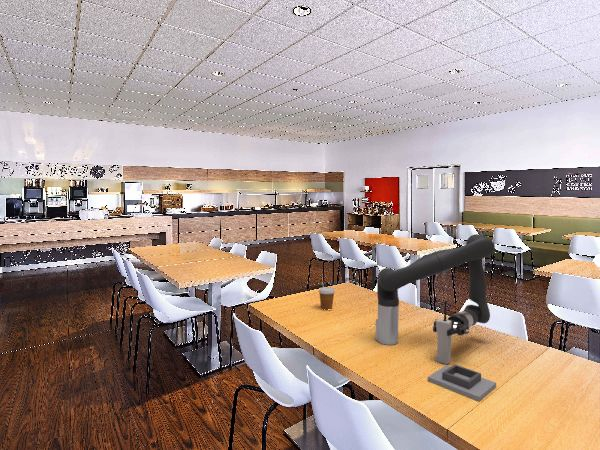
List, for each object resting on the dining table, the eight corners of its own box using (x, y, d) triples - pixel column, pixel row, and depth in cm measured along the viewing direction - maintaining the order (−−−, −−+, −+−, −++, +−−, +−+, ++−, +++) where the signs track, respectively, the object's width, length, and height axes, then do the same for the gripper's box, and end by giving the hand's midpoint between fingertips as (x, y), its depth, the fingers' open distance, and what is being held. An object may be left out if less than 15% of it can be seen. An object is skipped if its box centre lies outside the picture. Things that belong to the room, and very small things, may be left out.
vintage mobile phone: (438, 358, 152) (439, 298, 150) (450, 361, 149) (452, 300, 147) (434, 361, 149) (436, 300, 147) (447, 364, 146) (448, 302, 144)
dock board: (427, 380, 133) (427, 370, 133) (446, 368, 143) (446, 358, 142) (479, 401, 120) (479, 389, 120) (496, 386, 129) (496, 375, 129)
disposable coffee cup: (317, 311, 214) (317, 290, 213) (319, 306, 223) (319, 286, 222) (334, 311, 212) (334, 291, 211) (335, 307, 221) (335, 287, 221)
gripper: (444, 309, 163) (424, 317, 151) (478, 317, 152) (459, 327, 141) (443, 326, 163) (423, 335, 152) (477, 335, 152) (458, 346, 141)
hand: (440, 331), depth 146 cm, fingers closed on vintage mobile phone, 5 cm apart
